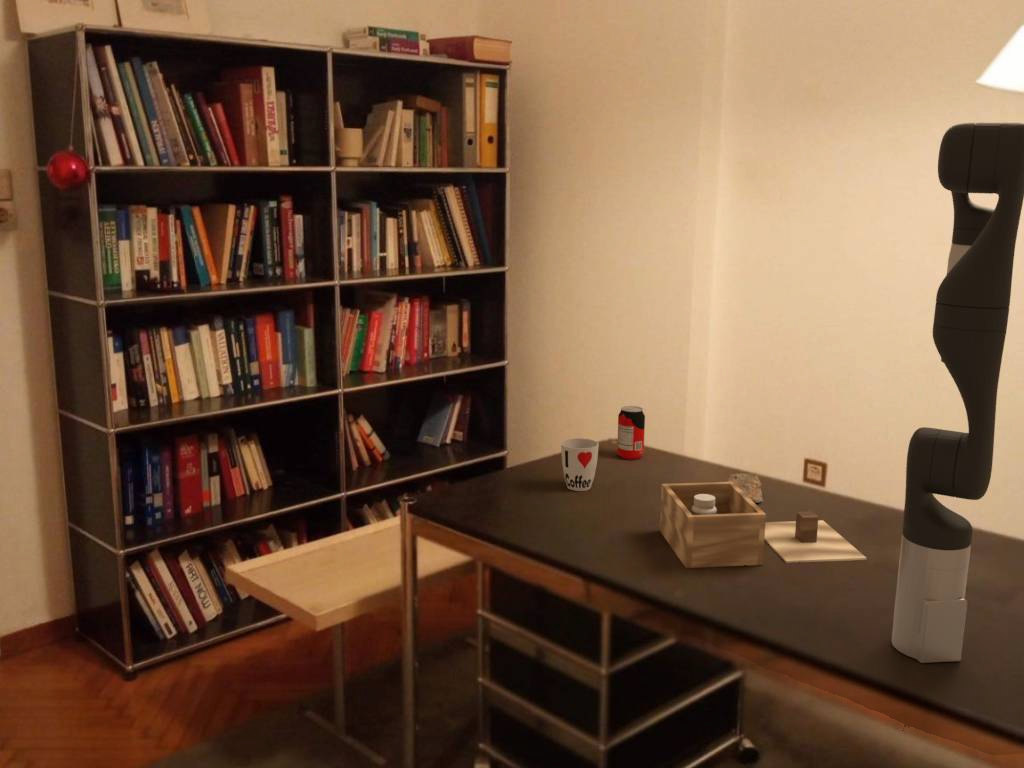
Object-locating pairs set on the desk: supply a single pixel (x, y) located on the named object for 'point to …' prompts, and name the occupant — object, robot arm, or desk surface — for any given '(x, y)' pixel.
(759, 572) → the desk surface
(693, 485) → the box
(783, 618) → the desk surface
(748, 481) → the rock
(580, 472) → the cup
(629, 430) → the beverage can
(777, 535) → the lid
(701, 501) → the pill bottle
